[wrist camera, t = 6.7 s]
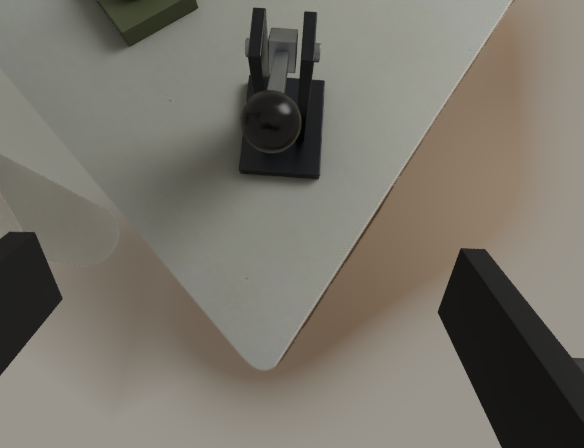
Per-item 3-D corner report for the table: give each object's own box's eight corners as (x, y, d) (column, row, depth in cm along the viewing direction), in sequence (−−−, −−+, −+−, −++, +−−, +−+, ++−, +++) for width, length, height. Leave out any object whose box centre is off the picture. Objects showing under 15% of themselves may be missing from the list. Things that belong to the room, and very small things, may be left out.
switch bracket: (318, 179, 39) (338, 108, 25) (240, 173, 39) (214, 99, 25) (323, 86, 42) (344, -26, 28) (250, 80, 42) (232, -35, 28)
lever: (298, 167, 21) (302, 112, 18) (238, 162, 21) (234, 107, 18) (303, 66, 30) (307, 21, 28) (262, 63, 30) (262, 18, 28)
